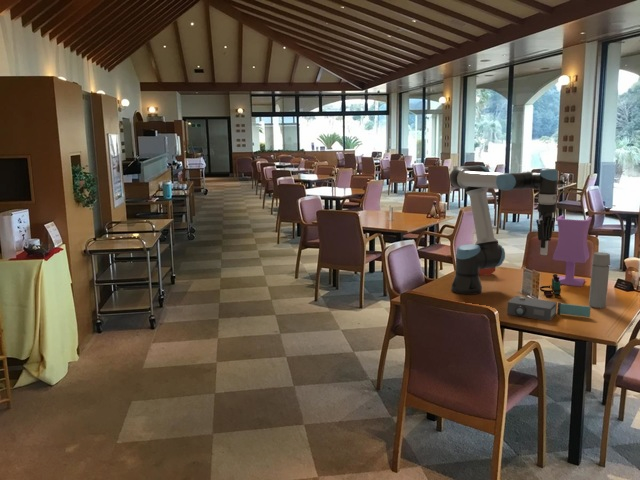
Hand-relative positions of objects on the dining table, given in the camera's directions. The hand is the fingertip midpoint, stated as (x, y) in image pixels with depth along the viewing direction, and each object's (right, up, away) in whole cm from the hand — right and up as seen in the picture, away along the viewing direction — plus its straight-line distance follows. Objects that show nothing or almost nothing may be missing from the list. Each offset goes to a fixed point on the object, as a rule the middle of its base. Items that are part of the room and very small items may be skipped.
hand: (543, 254), depth 259 cm
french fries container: (-8, -13, +64) cm, 66 cm away
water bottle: (+26, -24, +3) cm, 36 cm away
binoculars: (+11, -21, +20) cm, 31 cm away
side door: (+9, -27, -11) cm, 30 cm away
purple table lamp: (+32, -16, +45) cm, 58 cm away
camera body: (-9, -26, -9) cm, 29 cm away
